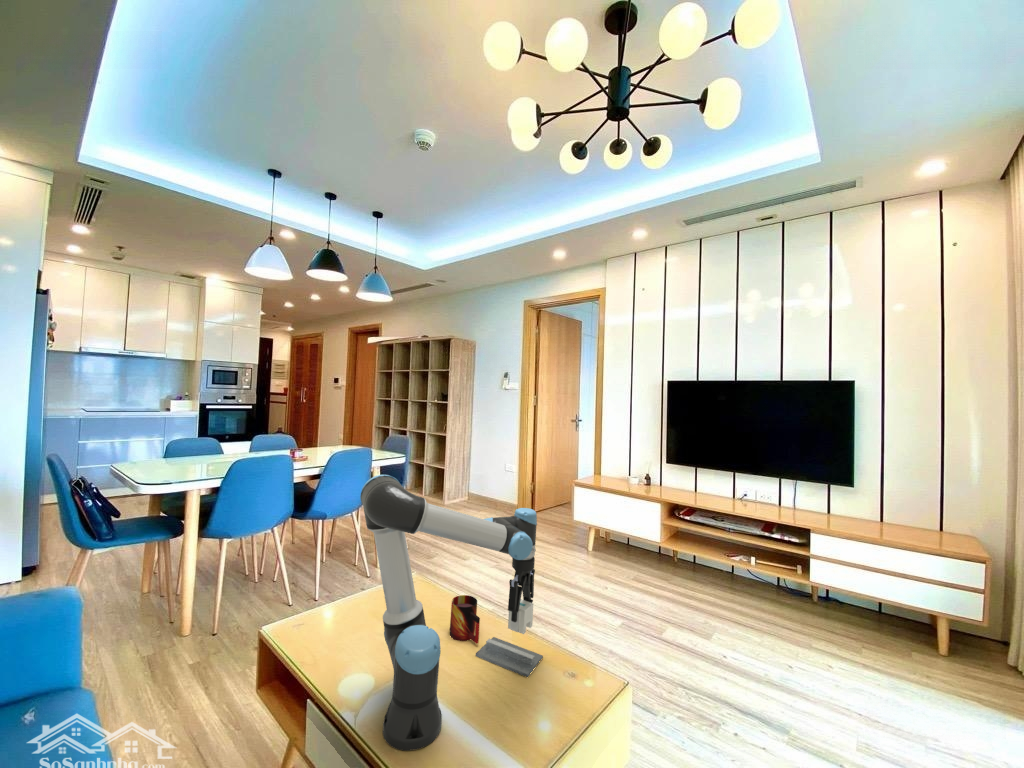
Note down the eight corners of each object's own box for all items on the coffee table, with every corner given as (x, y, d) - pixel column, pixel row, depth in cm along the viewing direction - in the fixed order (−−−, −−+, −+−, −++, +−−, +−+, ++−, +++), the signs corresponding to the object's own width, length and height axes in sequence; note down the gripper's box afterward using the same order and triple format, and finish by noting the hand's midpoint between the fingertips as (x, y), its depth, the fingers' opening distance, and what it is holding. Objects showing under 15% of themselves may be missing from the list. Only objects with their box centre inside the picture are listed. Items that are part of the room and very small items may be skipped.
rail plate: (527, 677, 131) (528, 668, 131) (475, 656, 141) (476, 647, 141) (542, 658, 142) (543, 649, 142) (493, 639, 151) (493, 631, 151)
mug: (477, 647, 146) (479, 613, 146) (444, 636, 151) (446, 603, 152) (489, 634, 154) (491, 602, 155) (458, 624, 160) (460, 592, 161)
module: (523, 634, 133) (524, 610, 133) (507, 628, 136) (509, 605, 136) (532, 626, 138) (533, 603, 139) (516, 620, 141) (518, 598, 142)
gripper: (519, 567, 128) (515, 643, 127) (546, 550, 145) (542, 617, 143) (499, 561, 132) (495, 635, 131) (527, 545, 148) (523, 611, 147)
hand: (519, 625), depth 137 cm, fingers closed on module, 6 cm apart
